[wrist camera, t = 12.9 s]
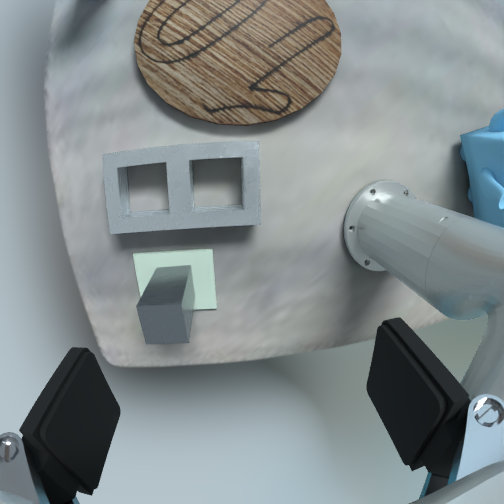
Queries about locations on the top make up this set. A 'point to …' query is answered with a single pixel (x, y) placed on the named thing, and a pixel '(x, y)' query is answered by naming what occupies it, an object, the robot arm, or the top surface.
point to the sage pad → (196, 258)
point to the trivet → (238, 56)
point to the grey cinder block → (181, 188)
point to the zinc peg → (167, 305)
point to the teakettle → (486, 170)
